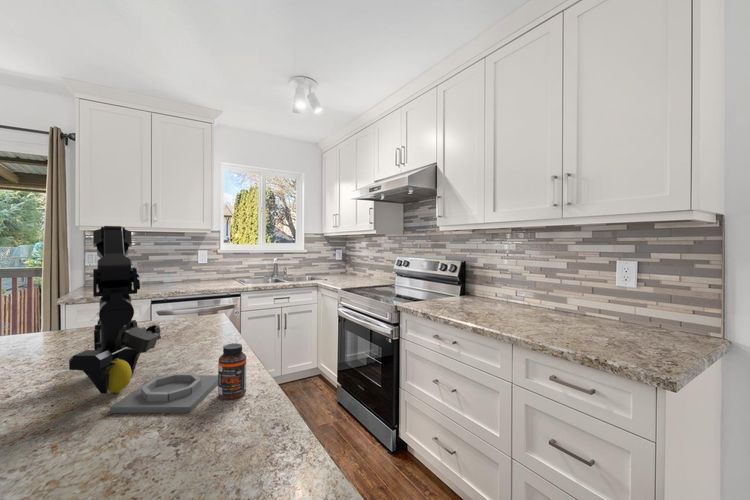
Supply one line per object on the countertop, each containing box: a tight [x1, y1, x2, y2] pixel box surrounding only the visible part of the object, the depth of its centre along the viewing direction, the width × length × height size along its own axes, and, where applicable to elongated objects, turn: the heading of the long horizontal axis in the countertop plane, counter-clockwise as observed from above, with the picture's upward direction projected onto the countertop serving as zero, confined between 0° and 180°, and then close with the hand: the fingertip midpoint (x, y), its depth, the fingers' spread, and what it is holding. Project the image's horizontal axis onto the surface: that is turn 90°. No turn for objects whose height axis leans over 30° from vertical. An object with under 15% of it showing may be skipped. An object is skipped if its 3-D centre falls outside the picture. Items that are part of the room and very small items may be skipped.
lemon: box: [107, 358, 133, 394], centre depth 78 cm, size 6×6×8 cm
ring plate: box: [109, 372, 218, 414], centre depth 77 cm, size 16×16×3 cm
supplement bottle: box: [217, 342, 247, 401], centre depth 77 cm, size 6×6×11 cm
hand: (117, 385), depth 78 cm, fingers open, 7 cm apart
